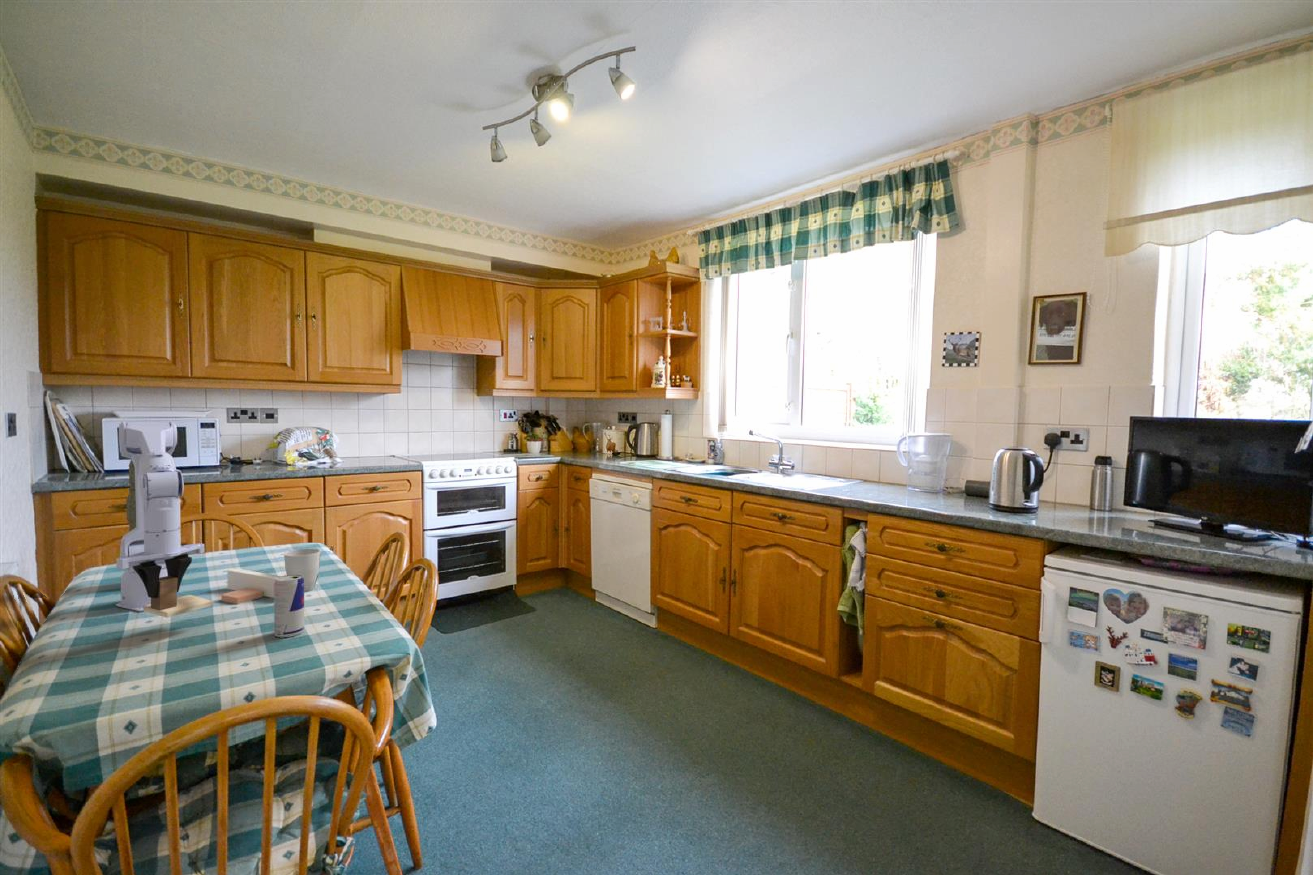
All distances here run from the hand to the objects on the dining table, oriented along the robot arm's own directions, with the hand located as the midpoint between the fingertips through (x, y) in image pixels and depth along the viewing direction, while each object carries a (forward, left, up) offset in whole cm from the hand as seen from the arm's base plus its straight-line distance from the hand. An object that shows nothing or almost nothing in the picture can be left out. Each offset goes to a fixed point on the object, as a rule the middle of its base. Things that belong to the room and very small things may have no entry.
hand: (163, 594), depth 117 cm
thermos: (-43, +20, -9) cm, 48 cm away
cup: (-3, +33, -9) cm, 34 cm away
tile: (-9, +22, -9) cm, 25 cm away
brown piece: (0, +3, -4) cm, 5 cm away
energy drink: (+22, +11, -9) cm, 26 cm away
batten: (-9, +26, -9) cm, 29 cm away
